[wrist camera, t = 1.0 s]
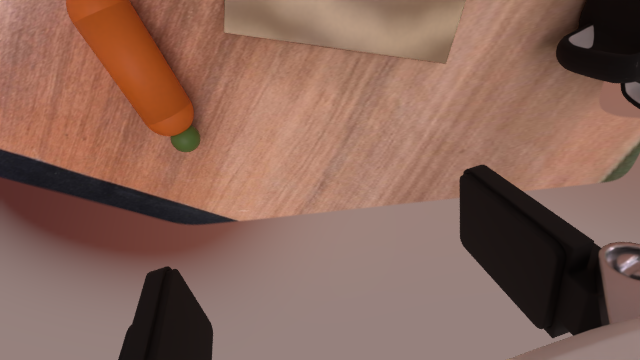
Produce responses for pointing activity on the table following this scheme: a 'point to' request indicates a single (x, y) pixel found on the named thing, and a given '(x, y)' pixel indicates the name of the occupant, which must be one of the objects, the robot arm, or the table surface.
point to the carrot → (137, 67)
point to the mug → (606, 45)
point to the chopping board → (352, 24)
